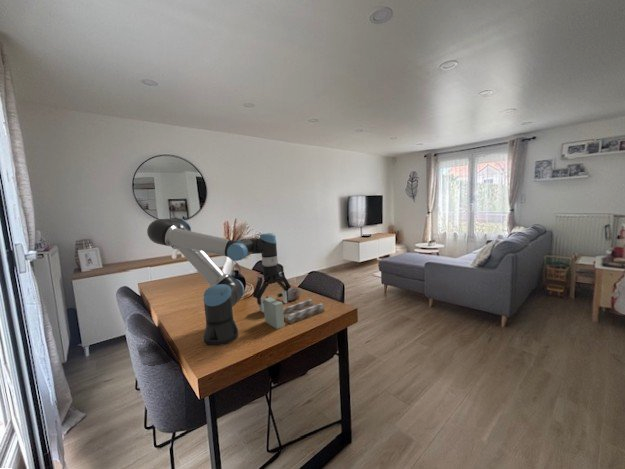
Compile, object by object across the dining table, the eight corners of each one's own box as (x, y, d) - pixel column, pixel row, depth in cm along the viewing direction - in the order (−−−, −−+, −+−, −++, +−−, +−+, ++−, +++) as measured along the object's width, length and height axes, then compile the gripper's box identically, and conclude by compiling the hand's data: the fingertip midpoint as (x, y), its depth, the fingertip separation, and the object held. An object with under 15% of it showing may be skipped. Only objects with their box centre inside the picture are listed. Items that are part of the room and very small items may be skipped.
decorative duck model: (273, 291, 163) (286, 283, 176) (275, 302, 164) (288, 294, 177) (292, 291, 155) (305, 284, 168) (294, 303, 156) (307, 295, 169)
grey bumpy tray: (291, 324, 129) (291, 316, 129) (277, 316, 139) (277, 309, 139) (324, 311, 143) (324, 304, 142) (309, 305, 153) (309, 298, 152)
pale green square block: (277, 329, 124) (275, 305, 123) (265, 321, 134) (263, 299, 133) (284, 326, 127) (282, 302, 126) (271, 319, 136) (270, 297, 135)
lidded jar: (275, 306, 154) (273, 291, 153) (279, 312, 144) (278, 296, 143) (257, 310, 150) (255, 294, 149) (260, 316, 140) (259, 300, 139)
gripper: (250, 270, 117) (254, 316, 119) (295, 261, 132) (298, 301, 134) (243, 268, 123) (247, 311, 125) (287, 259, 138) (290, 298, 140)
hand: (273, 306), depth 129 cm, fingers open, 13 cm apart
